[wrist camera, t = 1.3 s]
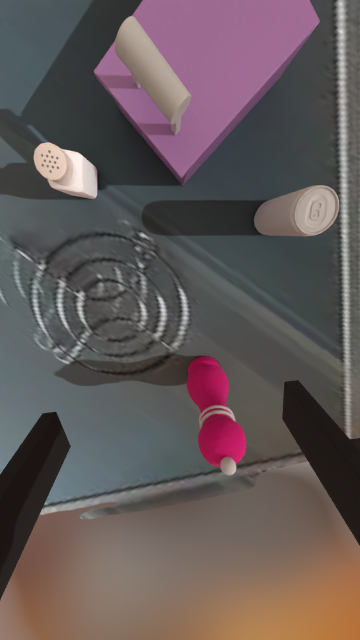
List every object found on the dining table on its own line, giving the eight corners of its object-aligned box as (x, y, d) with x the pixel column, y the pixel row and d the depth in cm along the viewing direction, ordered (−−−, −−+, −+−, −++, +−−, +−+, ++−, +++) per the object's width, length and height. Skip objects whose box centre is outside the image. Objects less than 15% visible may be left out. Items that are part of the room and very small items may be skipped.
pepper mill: (220, 385, 45) (256, 494, 26) (184, 385, 44) (195, 495, 26) (224, 353, 42) (268, 449, 24) (186, 353, 42) (200, 450, 23)
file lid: (180, 179, 25) (184, 161, 19) (96, 77, 22) (66, 13, 15) (314, 28, 21) (376, -58, 15) (236, -125, 18) (273, -321, 11)
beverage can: (250, 235, 35) (289, 236, 23) (254, 200, 33) (298, 183, 22) (281, 235, 35) (334, 236, 24) (286, 200, 33) (346, 184, 22)
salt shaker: (68, 162, 30) (26, 133, 21) (98, 167, 31) (70, 141, 22) (69, 195, 32) (30, 181, 23) (98, 200, 32) (71, 187, 23)
